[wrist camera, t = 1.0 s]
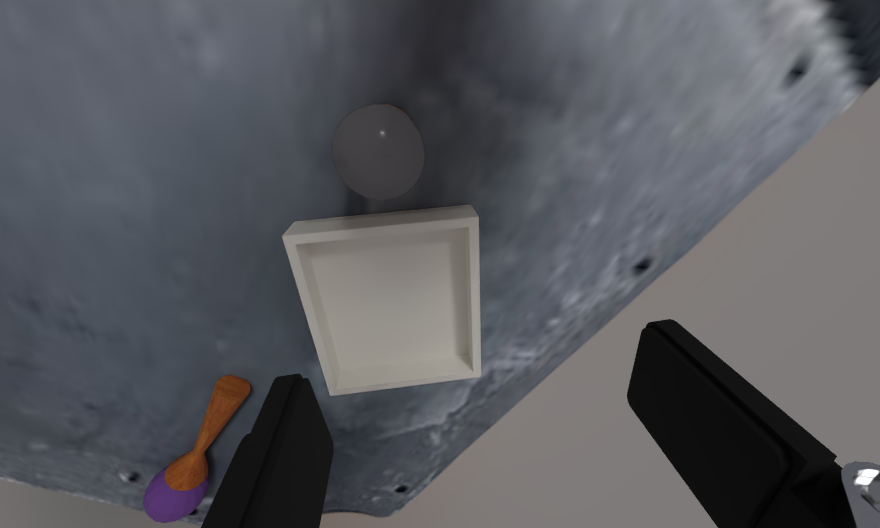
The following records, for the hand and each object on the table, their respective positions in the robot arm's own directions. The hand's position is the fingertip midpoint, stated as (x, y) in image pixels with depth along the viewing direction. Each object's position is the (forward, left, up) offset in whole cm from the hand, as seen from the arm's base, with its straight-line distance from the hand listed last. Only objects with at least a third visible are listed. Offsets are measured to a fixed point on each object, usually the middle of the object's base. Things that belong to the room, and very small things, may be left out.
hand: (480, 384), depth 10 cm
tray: (+11, -4, -22) cm, 25 cm away
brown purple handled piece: (+26, -28, -23) cm, 45 cm away
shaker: (-4, -3, -22) cm, 23 cm away
